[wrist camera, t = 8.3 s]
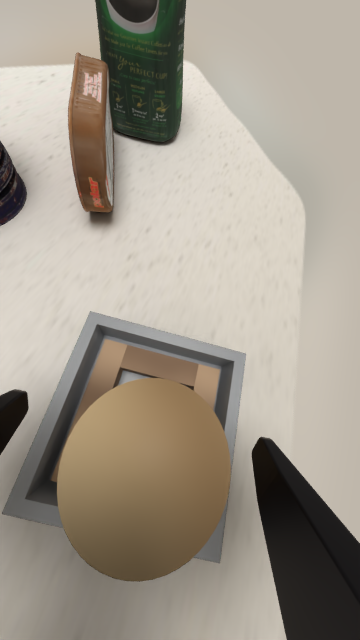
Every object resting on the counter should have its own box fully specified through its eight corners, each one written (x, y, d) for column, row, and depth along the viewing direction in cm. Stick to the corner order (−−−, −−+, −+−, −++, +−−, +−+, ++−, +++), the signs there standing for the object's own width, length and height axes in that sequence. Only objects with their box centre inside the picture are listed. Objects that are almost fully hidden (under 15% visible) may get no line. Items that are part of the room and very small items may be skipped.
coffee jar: (183, 117, 31) (227, -242, 13) (173, 151, 28) (214, -247, 11) (117, 99, 30) (74, -303, 13) (100, 132, 27) (16, -327, 10)
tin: (93, 136, 27) (71, 29, 19) (119, 139, 27) (107, 35, 20) (87, 230, 22) (53, 138, 14) (118, 231, 22) (102, 143, 15)
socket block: (189, 499, 15) (195, 514, 13) (63, 469, 14) (50, 480, 13) (212, 372, 18) (220, 369, 16) (109, 344, 18) (105, 338, 16)
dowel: (127, 455, 15) (77, 629, 4) (113, 399, 16) (43, 410, 5) (179, 433, 16) (257, 522, 5) (163, 381, 17) (197, 358, 6)
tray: (204, 526, 15) (220, 563, 12) (35, 487, 14) (1, 513, 11) (229, 361, 19) (245, 353, 16) (100, 325, 19) (90, 311, 15)
